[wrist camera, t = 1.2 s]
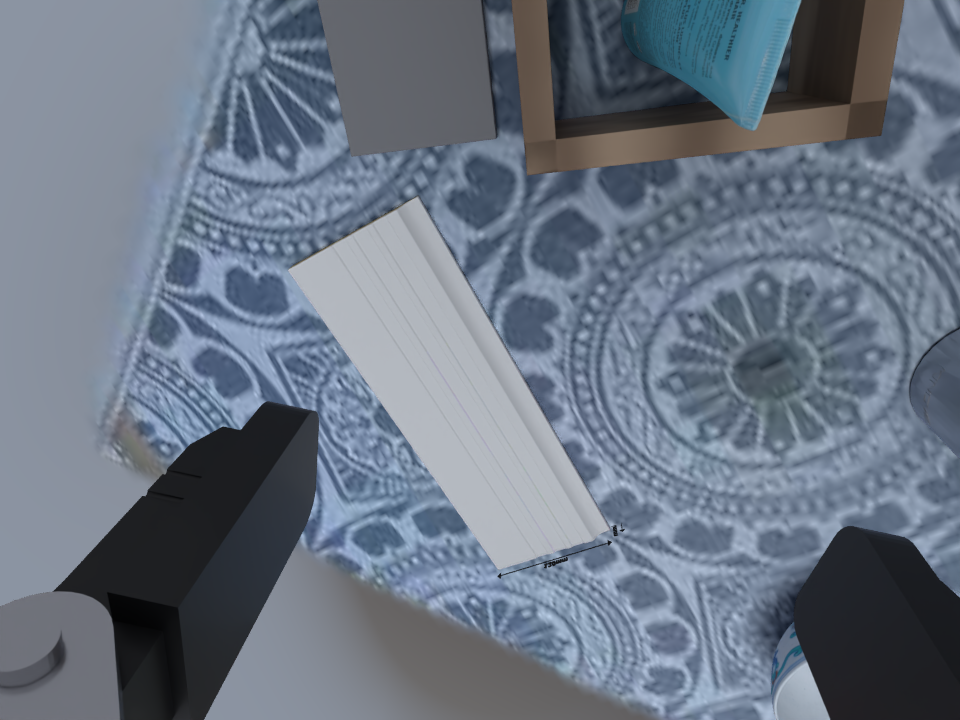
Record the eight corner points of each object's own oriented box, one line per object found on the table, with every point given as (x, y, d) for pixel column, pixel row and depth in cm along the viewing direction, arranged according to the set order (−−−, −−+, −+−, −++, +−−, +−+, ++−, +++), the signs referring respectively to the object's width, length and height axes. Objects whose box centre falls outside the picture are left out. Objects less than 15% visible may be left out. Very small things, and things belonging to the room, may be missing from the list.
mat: (470, -109, 30) (468, -113, 30) (497, 136, 36) (496, 138, 35) (306, -78, 32) (299, -81, 31) (356, 154, 37) (351, 156, 36)
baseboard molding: (439, 182, 38) (296, 262, 42) (431, 192, 36) (279, 277, 39) (625, 517, 50) (500, 557, 53) (629, 543, 47) (497, 582, 51)
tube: (697, 89, 34) (845, 135, 17) (611, 86, 34) (672, 128, 17) (727, -71, 30) (952, -216, 13) (631, -72, 31) (731, -215, 14)
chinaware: (754, 680, 57) (781, 766, 50) (736, 569, 50) (765, 651, 44) (930, 664, 53) (985, 755, 46) (935, 544, 47) (999, 628, 40)
